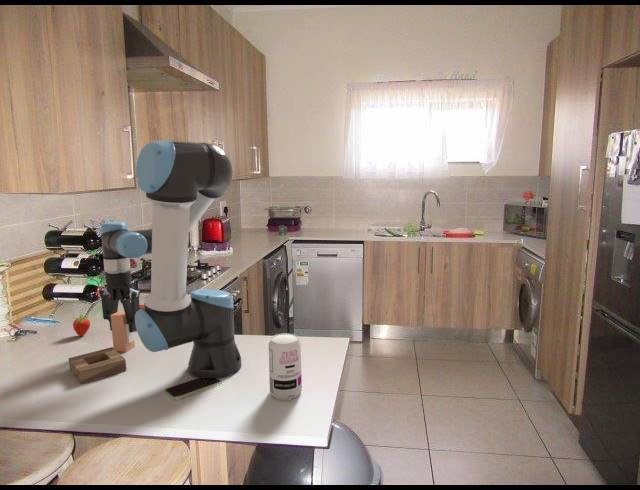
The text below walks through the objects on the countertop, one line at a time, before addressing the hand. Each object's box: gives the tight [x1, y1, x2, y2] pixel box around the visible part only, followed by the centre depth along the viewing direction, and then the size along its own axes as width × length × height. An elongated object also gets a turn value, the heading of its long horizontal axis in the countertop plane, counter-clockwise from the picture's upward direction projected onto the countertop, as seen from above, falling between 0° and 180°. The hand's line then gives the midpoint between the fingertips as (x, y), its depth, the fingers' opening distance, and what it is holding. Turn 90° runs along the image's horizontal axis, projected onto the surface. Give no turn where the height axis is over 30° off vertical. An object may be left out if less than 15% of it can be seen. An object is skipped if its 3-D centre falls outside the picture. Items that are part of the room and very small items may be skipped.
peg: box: [111, 310, 136, 353], centre depth 141 cm, size 4×4×12 cm
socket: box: [68, 346, 127, 385], centre depth 127 cm, size 12×12×4 cm
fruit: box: [72, 313, 91, 337], centre depth 153 cm, size 5×5×8 cm
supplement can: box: [268, 332, 303, 401], centre depth 112 cm, size 8×8×15 cm
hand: (123, 340), depth 142 cm, fingers closed on peg, 4 cm apart
